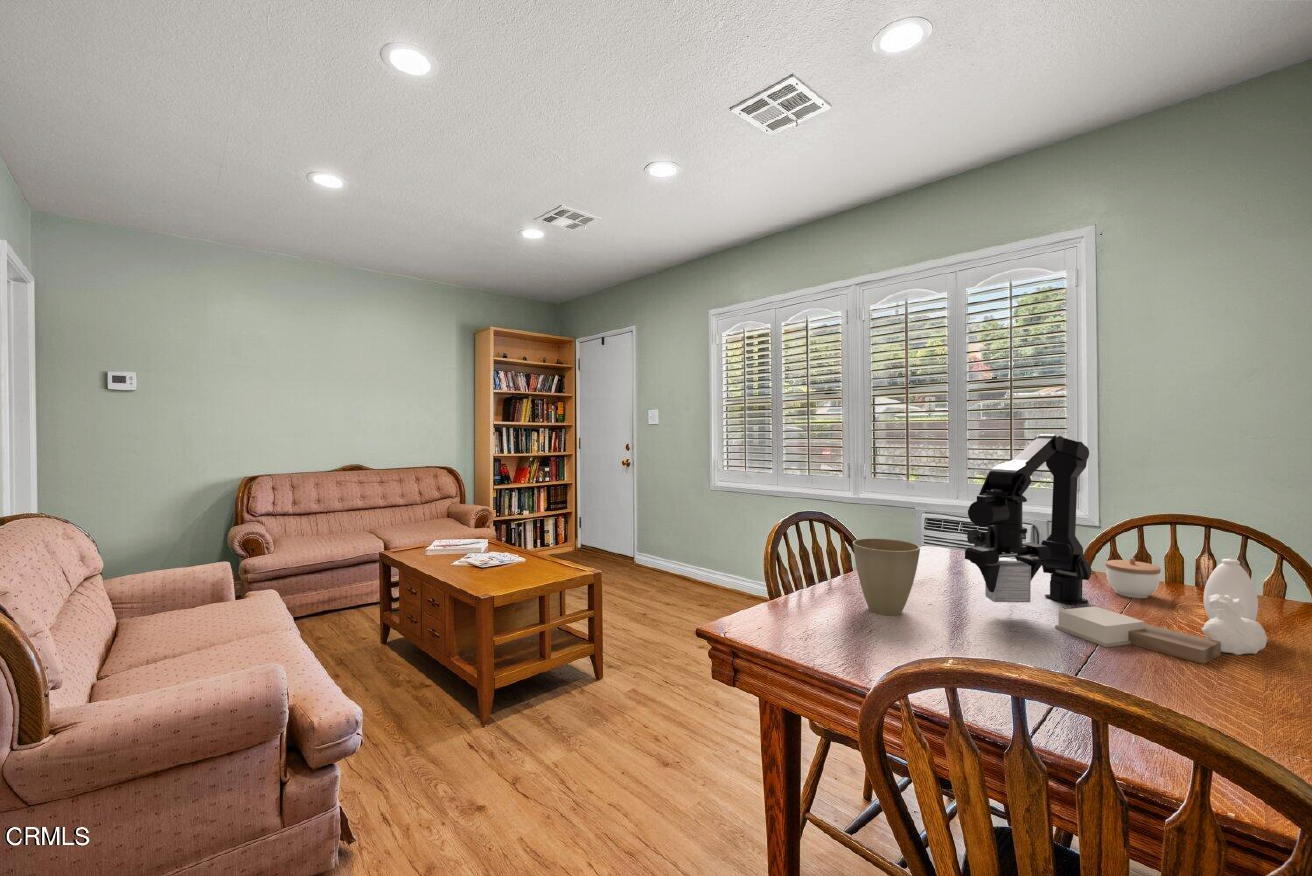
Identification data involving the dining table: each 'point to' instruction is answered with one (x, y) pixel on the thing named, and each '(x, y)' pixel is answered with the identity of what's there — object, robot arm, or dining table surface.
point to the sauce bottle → (1232, 587)
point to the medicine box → (1012, 583)
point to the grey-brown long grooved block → (1175, 643)
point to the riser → (1098, 625)
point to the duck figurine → (1233, 627)
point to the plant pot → (886, 572)
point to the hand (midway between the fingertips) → (1007, 590)
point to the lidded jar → (1133, 577)
